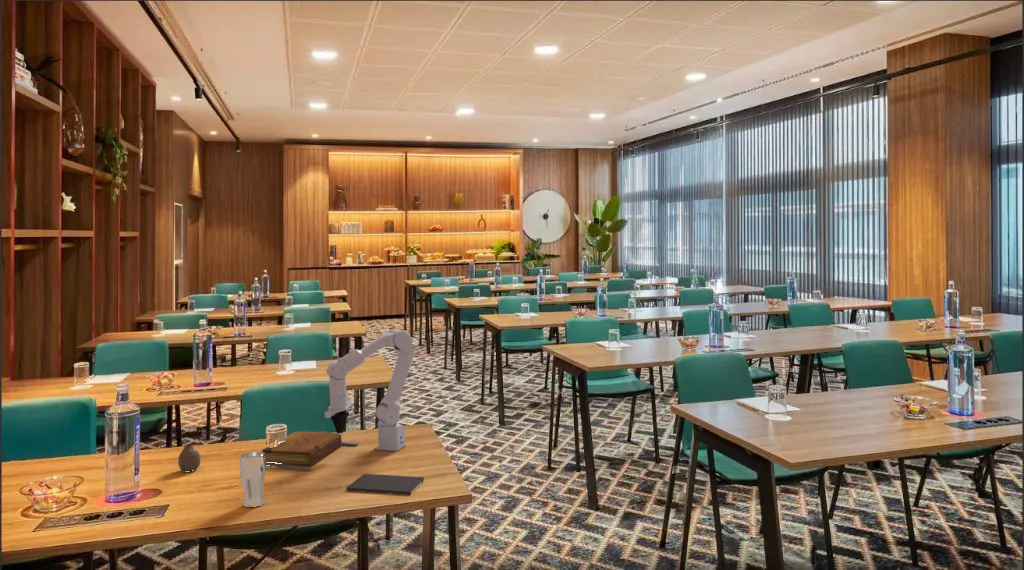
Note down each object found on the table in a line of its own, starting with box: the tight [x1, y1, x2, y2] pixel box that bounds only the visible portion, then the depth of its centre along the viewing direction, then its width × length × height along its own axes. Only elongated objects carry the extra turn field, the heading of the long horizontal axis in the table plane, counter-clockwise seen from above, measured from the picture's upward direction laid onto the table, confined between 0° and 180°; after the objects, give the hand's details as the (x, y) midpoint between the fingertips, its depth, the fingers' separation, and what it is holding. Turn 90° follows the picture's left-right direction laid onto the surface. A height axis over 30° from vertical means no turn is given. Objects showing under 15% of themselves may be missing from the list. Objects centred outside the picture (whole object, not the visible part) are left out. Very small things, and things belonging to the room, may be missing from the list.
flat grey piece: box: [264, 441, 359, 472], centre depth 251 cm, size 27×30×1 cm
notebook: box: [345, 473, 425, 496], centre depth 217 cm, size 13×2×21 cm
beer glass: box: [239, 450, 266, 507], centre depth 204 cm, size 7×7×15 cm
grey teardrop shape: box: [177, 444, 201, 472], centre depth 236 cm, size 7×7×9 cm
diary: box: [261, 431, 343, 468], centre depth 250 cm, size 23×19×6 cm
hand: (340, 432), depth 247 cm, fingers closed
